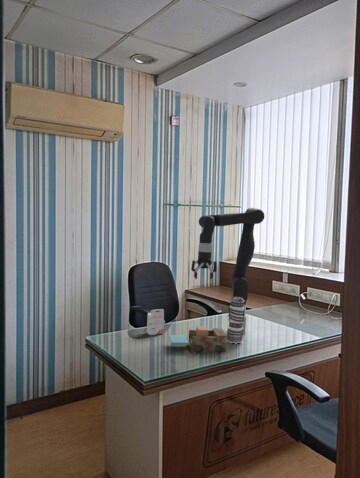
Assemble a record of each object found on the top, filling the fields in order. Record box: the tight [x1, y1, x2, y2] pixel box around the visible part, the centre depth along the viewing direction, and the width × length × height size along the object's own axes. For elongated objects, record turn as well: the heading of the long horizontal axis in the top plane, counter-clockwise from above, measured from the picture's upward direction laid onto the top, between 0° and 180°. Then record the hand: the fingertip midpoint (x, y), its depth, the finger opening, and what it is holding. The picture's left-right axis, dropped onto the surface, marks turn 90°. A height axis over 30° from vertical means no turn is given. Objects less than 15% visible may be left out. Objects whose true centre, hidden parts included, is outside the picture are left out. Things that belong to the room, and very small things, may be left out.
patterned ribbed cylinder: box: [226, 296, 246, 345], centre depth 224 cm, size 9×9×25 cm
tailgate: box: [168, 334, 190, 347], centre depth 210 cm, size 2×12×10 cm
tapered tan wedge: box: [195, 325, 209, 337], centre depth 211 cm, size 5×7×7 cm
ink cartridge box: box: [146, 308, 165, 336], centre depth 231 cm, size 9×5×15 cm, turn 117°
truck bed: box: [188, 327, 228, 354], centre depth 211 cm, size 18×14×9 cm
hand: (203, 278), depth 230 cm, fingers open, 8 cm apart
